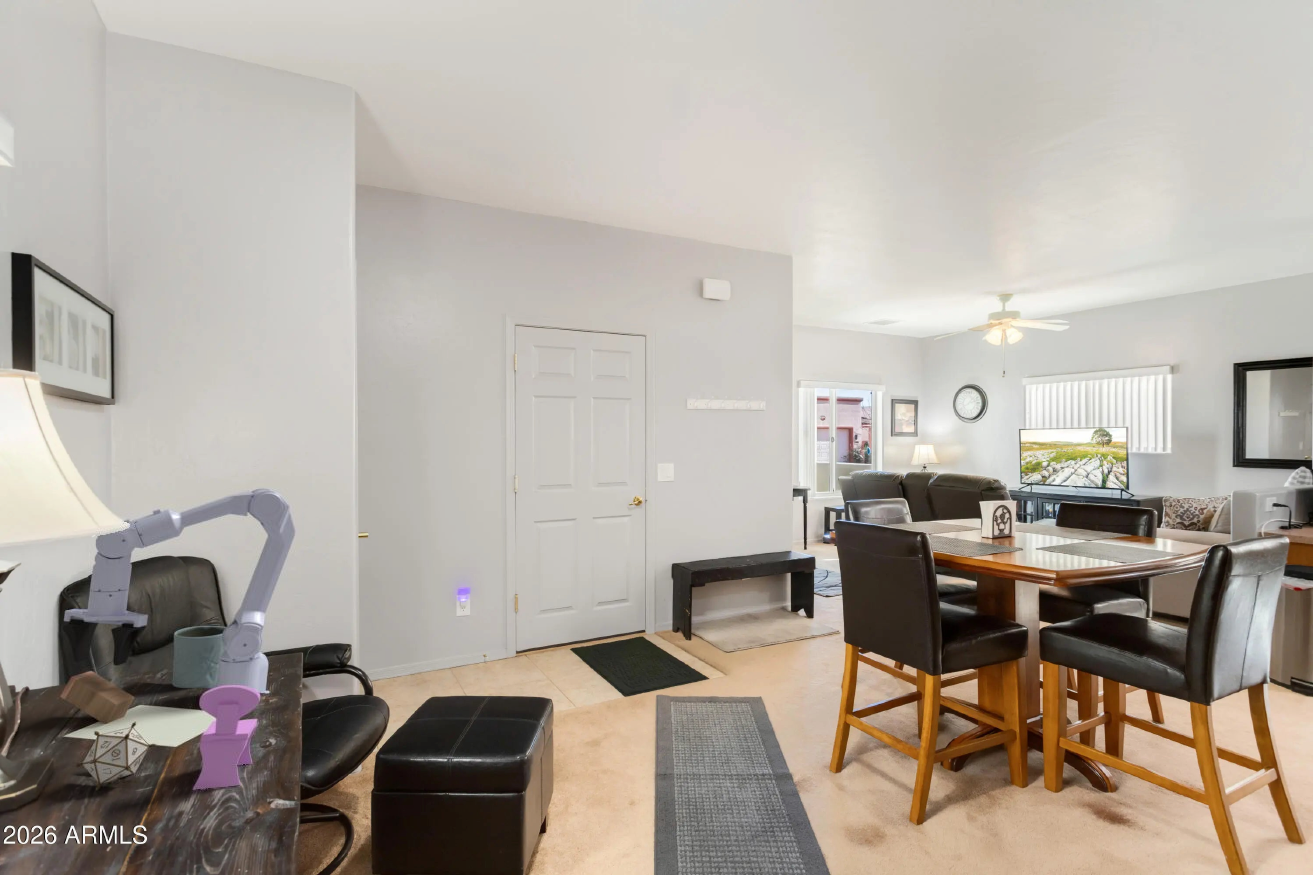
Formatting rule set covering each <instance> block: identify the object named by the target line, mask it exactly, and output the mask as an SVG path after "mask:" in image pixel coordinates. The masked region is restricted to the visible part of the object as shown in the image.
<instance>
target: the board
mask: <svg viewBox="0 0 1313 875" xmlns="http://www.w3.org/2000/svg"><path fill="white" fill-rule="evenodd" d="M213 721H216V718H215V717H213V716H212V715H210V714H208V713H207V712H205V711H204V710H202V709H201V710H200V709H191V708H189V709H188V708H178V707H167V706H157V705H156V706H155V705H146V704H145V705H143V704H139V705H136V706H134V707H131V708H129V709H128V711H127V712H126V714H125V716H124V717H122V718H119V719H117V720H115V721H112V722H110V723H107V724H104V723H102V722H100V721H99V720H98V722H97V721H96V722H95V723H91V724H90V725H88V726H86V727H83V728H81V729H78V730H76V731H72V732H70V733H67V734H66V735H63V736H62V737H63V738H65V737H66V738H74V739H85V740H86V739H87V740H94V741H95V740H96V738H97V736H95V735H94V731H97V732H99V734H105V733H109V732H113V731H117V730H121V729H126V728H130V727H131V725H132V723H134V722H136V725H135V726H134V729H135V730H136V731H137V732H138V733H139V734H140V735H141V737H142V738H143V739H144V740H145V741H146V742H147V743H148V744H149V745H151V744H157V745H156V746H162V747H163V746H164V747H171V748H172V747H174V748H177V747H178V746H180V745H182V744H185V743H186V742H187V741H189V740H192V739H194V738H195V737H198V736H199V735H200V736H201V735H202V734H203V733H204V732H205V731H206V730H207V729H208V728H209V726H210V725H211V723H212V722H213Z"/></svg>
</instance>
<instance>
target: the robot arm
mask: <svg viewBox="0 0 1313 875" xmlns="http://www.w3.org/2000/svg"><path fill="white" fill-rule="evenodd" d="M228 515H236V516H244V517H248V515H251V516H252V518H254V519H255V520H256V521H258V522H259V523H260V525H261V527H262V528H263V530H264V531H265V532H266V534H267V538H266V541H265V542H264V545H263V548H262V550H261V553H260V555H259V558H258V561H257V564H256V566H255V568H254V571H253V574H252V576H251V579H250V582H249V584H248V586H247V589H246V592H245V594H244V597H243V599H242V602H241V605H240V607H239V608H238V610H237V611H236V613H235V615H234V616H233V619H232V621H231V622H230V624H228V625H227V626H225V627H226V628H225V630H224V631H223V634H222V642H223V644H224V645H225V646H226V649H225V650H224V652H223V653H222V654H221V655H220V659H219V667H218V676H217V684H216V687H219V686H225V685H241V686H246V687H250V688H252V689H255V690H256V691H258V692H259V694H270V690H266V689H267V680H268V672H269V660H268V658H267V656H266V655H265V654H264V653H262V652H261V651H260V650H261V648H262V646H263V636H262V633H263V629H264V626H265V621H266V620H265V619H266V618H265V617H266V612H267V611H268V608H269V606H270V605H269V604H270V602H271V600H272V597H273V594H274V592H275V589H276V586H277V584H278V581H279V577H280V575H281V572H282V570H283V567H284V564H285V562H286V560H287V557H288V554H289V551H290V549H291V546H292V543H293V542H294V539H295V536H296V529H295V525H294V522H293V518H292V514H291V511H290V505H289V503H288V502H287V501H286V500H285V498H284V497H283V495H281V494H280V493H278V492H276V491H274V490H270V489H268V488H256V489H253V490H252V491H249V490H248V491H242V492H238V493H235V494H230V495H227V496H224V497H221V498H218V499H215V500H213V501H209V502H206V503H204V504H200V505H198V506H195V507H192V508H189V509H186V510H183V511H180V512H176V511H174V510H172V509H165V510H162V509H161V508H157V509H154V510H152V514H149V515H145V516H143V517H139V518H135V519H132V520H131V519H130V518H127V519H124V520H123V521H124V522H127V523H129V524H130V527H129V528H127V529H125V530H123V531H118V532H115V533H110V534H106V535H100V536H98V535H97V538H96V539H95V547H96V550H97V552H96V554H95V556H94V564H93V566H92V572H91V580H90V588H89V596H88V604H87V608H85V609H83V608H82V609H81V608H80V609H79V608H73V609H69V610H65V611H64V618H63V622H68V624H64V625H62V631H63V632H64V633H65V635H66V638H67V639H68V640H69V641H68V642H69V643H70V647H71V650H72V655H73V660H74V662H75V663H80V662H83V661H86V660H88V658H89V656H90V653H91V652H90V651H91V645H92V640H93V636H94V633H95V631H96V629H97V627H98V624H109V625H121V626H118V627H113V628H111V634H112V638H113V644H114V646H113V647H114V648H113V649H114V650H113V658H112V660H113V666H120V665H123V664H127V662H128V659H129V657H130V654H131V652H132V649H133V648H134V646H135V643H136V642H137V641H138V639H139V638H140V636H141V635H142V634H143V632H144V631H145V630H146V626H147V624H148V617H149V614H144V613H139V612H138V613H137V612H134V611H133V612H132V611H129V610H127V607H128V598H129V591H130V581H131V574H132V567H133V566H132V562H131V559H132V553H133V551H134V550H135V549H137V548H138V549H144V548H147V547H149V546H154V545H157V544H159V543H162V542H166V541H168V540H171V539H174V538H177V537H179V536H180V535H181V533H182V532H183V530H184V529H185V528H188V527H191V526H193V525H198V524H201V523H203V522H207V521H210V520H213V519H217V518H220V517H224V516H228Z"/></svg>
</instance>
